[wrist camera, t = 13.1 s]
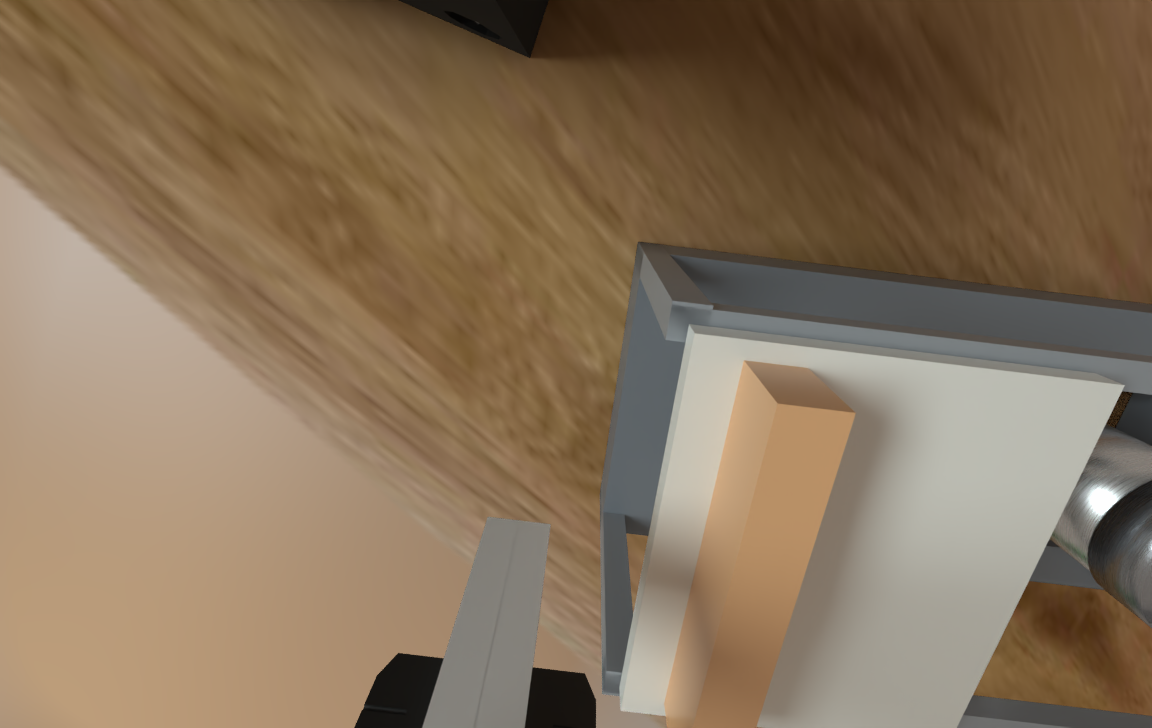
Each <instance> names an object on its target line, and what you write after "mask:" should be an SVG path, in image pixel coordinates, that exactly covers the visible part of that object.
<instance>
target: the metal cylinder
mask: <svg viewBox="0 0 1152 728" xmlns="http://www.w3.org/2000/svg"><path fill="white" fill-rule="evenodd" d="M1050 540H1051V541H1053V542H1054V543H1055V544H1056V545H1058V546H1059V547H1060V548H1062V549H1063V550H1064V551H1065V552H1067V553H1068V554H1069V555H1070V556H1072V557H1073V558H1074V559H1075V560H1077V561H1078V562H1079V563H1080V564H1082V565H1083V566H1084V567H1086V568H1087V569H1088V570H1089V571H1090V572H1091V574H1092V576H1093V578H1094V580H1095V581H1096V582H1097V584H1098V585H1100V586H1101V587H1102V588H1103V589H1104V590H1105V591H1106V592H1108V593H1109V594H1110V595H1111V596H1113V597H1114V598H1115V599H1116V600H1118V601H1119V602H1120V603H1121V604H1123V605H1124V606H1125V607H1126V608H1128V609H1129V610H1130V611H1131V612H1133V613H1134V614H1135V615H1136V616H1137V617H1139V618H1140V619H1141V620H1142V621H1144V622H1145V623H1146V624H1147V625H1149V626H1150V627H1151V628H1152V446H1151V445H1149V444H1147V443H1145V442H1142V441H1140V440H1138V439H1136V438H1134V437H1132V436H1130V435H1128V434H1126V433H1124V432H1122V431H1120V430H1118V429H1116V428H1114V427H1111V426H1109V425H1107V424H1106V425H1105V427H1104V429H1103V431H1102V433H1101V435H1100V437H1099V439H1098V441H1097V443H1096V445H1095V447H1094V449H1093V451H1092V453H1091V455H1090V457H1089V459H1088V461H1087V463H1086V466H1085V468H1084V470H1083V472H1082V474H1081V476H1080V478H1079V480H1078V482H1077V484H1076V486H1075V488H1074V490H1073V492H1072V494H1071V496H1070V498H1069V500H1068V502H1067V504H1066V506H1065V508H1064V510H1063V512H1062V514H1061V516H1060V518H1059V520H1058V523H1057V525H1056V527H1055V529H1054V531H1053V533H1052V535H1051V537H1050Z"/></svg>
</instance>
